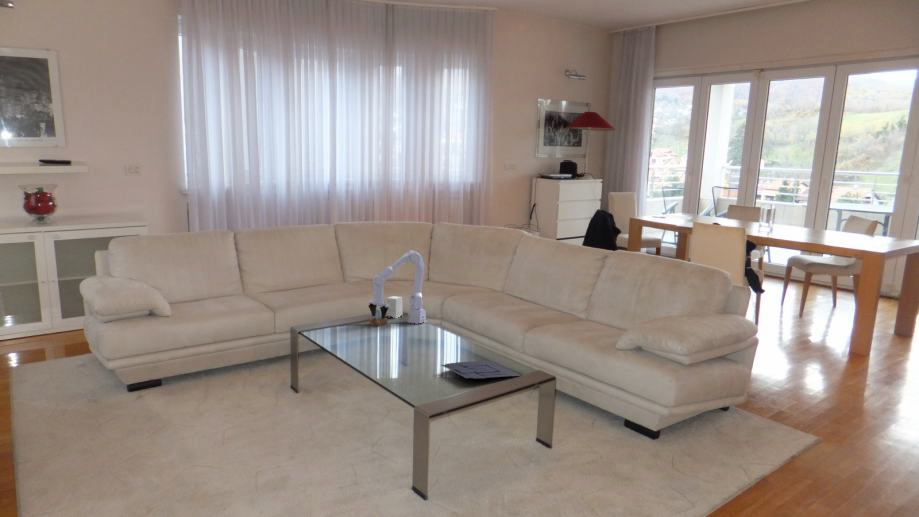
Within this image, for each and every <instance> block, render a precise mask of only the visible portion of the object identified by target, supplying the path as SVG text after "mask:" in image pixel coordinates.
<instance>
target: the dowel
mask: <svg viewBox="0 0 919 517" xmlns="http://www.w3.org/2000/svg"><path fill="white" fill-rule="evenodd" d="M375 317H376V320H381V310H380V308H376V315H375Z"/></svg>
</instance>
